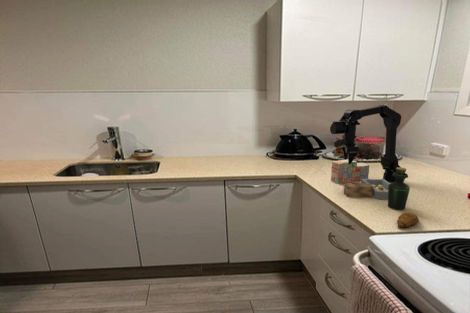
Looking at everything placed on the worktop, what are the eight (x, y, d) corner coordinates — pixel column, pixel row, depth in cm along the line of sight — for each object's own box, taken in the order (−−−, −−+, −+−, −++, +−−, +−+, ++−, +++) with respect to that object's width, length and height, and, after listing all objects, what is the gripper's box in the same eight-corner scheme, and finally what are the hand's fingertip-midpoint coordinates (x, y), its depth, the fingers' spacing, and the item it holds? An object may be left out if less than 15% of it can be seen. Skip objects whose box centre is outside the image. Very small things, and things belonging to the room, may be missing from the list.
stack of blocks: (360, 177, 159) (362, 157, 156) (368, 180, 153) (370, 160, 150) (330, 180, 153) (331, 160, 150) (337, 184, 147) (338, 163, 144)
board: (367, 193, 132) (368, 183, 131) (371, 197, 127) (373, 187, 126) (343, 193, 133) (344, 183, 132) (346, 197, 128) (347, 186, 127)
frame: (383, 185, 144) (384, 179, 143) (402, 199, 123) (403, 192, 123) (360, 184, 145) (361, 178, 144) (375, 198, 125) (376, 192, 124)
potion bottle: (381, 204, 119) (386, 166, 115) (398, 203, 119) (403, 165, 115) (393, 211, 111) (398, 171, 107) (411, 210, 111) (417, 170, 107)
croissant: (409, 233, 94) (411, 220, 92) (390, 226, 99) (391, 214, 98) (425, 222, 101) (426, 210, 100) (405, 216, 106) (407, 205, 105)
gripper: (330, 131, 148) (328, 157, 152) (338, 135, 130) (335, 165, 134) (351, 131, 147) (348, 157, 150) (361, 136, 129) (358, 166, 132)
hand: (347, 161), depth 142 cm, fingers open, 9 cm apart
